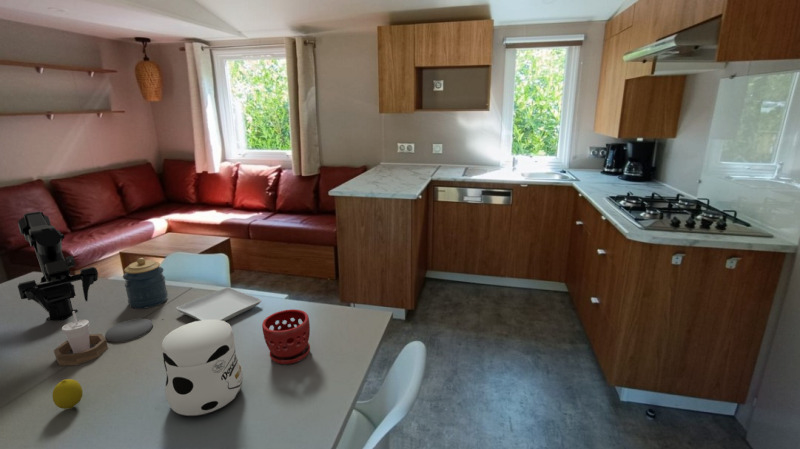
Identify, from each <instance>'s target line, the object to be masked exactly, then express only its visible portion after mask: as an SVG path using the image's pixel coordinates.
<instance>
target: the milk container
mask: <svg viewBox="0 0 800 449" xmlns="http://www.w3.org/2000/svg"><path fill="white" fill-rule="evenodd" d="M161 343H162V344H161V347H162V348H161V350H162V357H163V364H164V368H165V372H166V381H165V388H164V391H165V398H166V401H167V404H168V405H169V407H170V409H171V410H172V411H173V412H175V413H176V414H178V415H180V416H184V417H199V416H200V417H201V416H205V415H207V414H211V413H215V412H216V411H218V410H220V409H223V408H225V407H226V406H227V405H228V404H230V403H232V402H233V401H234V400H235V399H236V397H237V396H238V395H239V394H240V391H241V389H242V387H243V381H244V380H243V378H244V376H243V375H244V374H243V369H242V365H241V364H240V361H239V360H238V357H237V353H236V343H235V336H234V332H233V328H232V327H231V325H230V323H229V322H226V321H221V320H216V319H215V320H201V321H199V320H195V321H192V322H189V323H185V324H183V325H180V326H179V327H176V328H175V329H173V330H172V331H170V332H169V333H167V335H165V337H164V338H163V340H162V341H161Z"/></svg>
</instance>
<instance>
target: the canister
mask: <svg viewBox="0 0 800 449" xmlns="http://www.w3.org/2000/svg"><path fill="white" fill-rule="evenodd" d="M136 260H137V261H135V262H132V263H129V265H128V266H126V267H125V268H124V270H123V271H124V274H123V275H122V278H123V280H124V281H125V283H124V288H125V293H126V296H127V303H128V305H129V307H130V308H131V309H136V310H138V309H149V308H152V307H156V306H158V305H161V304H163V303H164V302H166V301H167V299H168V295H169V293H168V289H167V285H166V276H164V274H163V272H164V271H165V270H164V269H165V268H163V267H162V266H160V265H161V263H160V262H158V261H155V260H153V259H145V258H144V257H139V258H138V259H136Z"/></svg>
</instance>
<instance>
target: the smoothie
mask: <svg viewBox="0 0 800 449" xmlns="http://www.w3.org/2000/svg"><path fill="white" fill-rule="evenodd" d="M76 314H77V313H76V312H75V311H73V314H72V316H73V321H70V322H68V323H65V324H64V325H63V326H62V327H61V332H62V334H64V335H65V337H66V341H67V340H68V342H69V344H70V346H71V349H72V350H71V351H72V354H77V353H80V352H82V351H85V350H88V349H91V345H90V340H89V334H90V329H89V327H90V321H89V320H88V319H78V318H77V315H76Z"/></svg>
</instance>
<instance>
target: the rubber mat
mask: <svg viewBox="0 0 800 449" xmlns="http://www.w3.org/2000/svg"><path fill="white" fill-rule="evenodd" d="M153 327H154V326H153V322H152V320H151V319H148V318H134V319H129V320H125V321H121V322H119V323H117V324H115V325H113V326H111V327H109V329H107V331H105V334H104V338H105V339H106V341H108V342H111V343H123V342H129V341H133V340H136V339H138V338H141V337H143V336H145V335H146V334H148V333H149V332H151V330H152V329H153Z"/></svg>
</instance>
